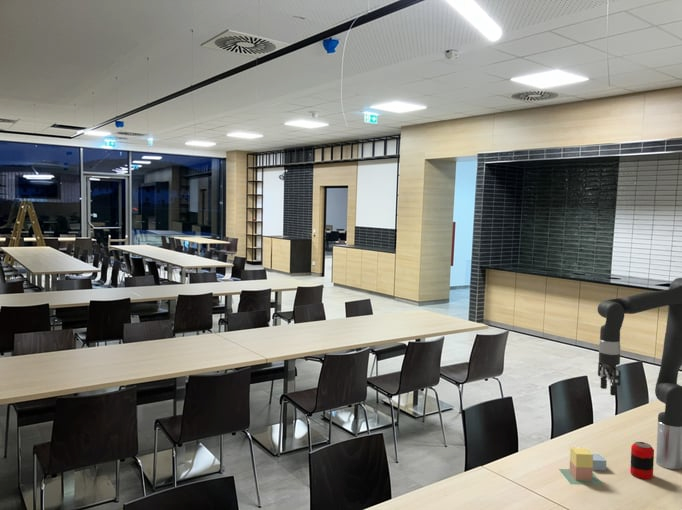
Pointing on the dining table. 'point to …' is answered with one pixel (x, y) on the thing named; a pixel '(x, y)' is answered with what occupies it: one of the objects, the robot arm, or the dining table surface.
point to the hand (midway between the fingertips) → (608, 391)
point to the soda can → (642, 460)
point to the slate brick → (599, 462)
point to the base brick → (581, 473)
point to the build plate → (572, 481)
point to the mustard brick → (581, 457)
